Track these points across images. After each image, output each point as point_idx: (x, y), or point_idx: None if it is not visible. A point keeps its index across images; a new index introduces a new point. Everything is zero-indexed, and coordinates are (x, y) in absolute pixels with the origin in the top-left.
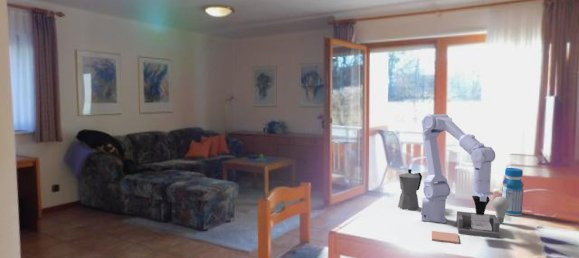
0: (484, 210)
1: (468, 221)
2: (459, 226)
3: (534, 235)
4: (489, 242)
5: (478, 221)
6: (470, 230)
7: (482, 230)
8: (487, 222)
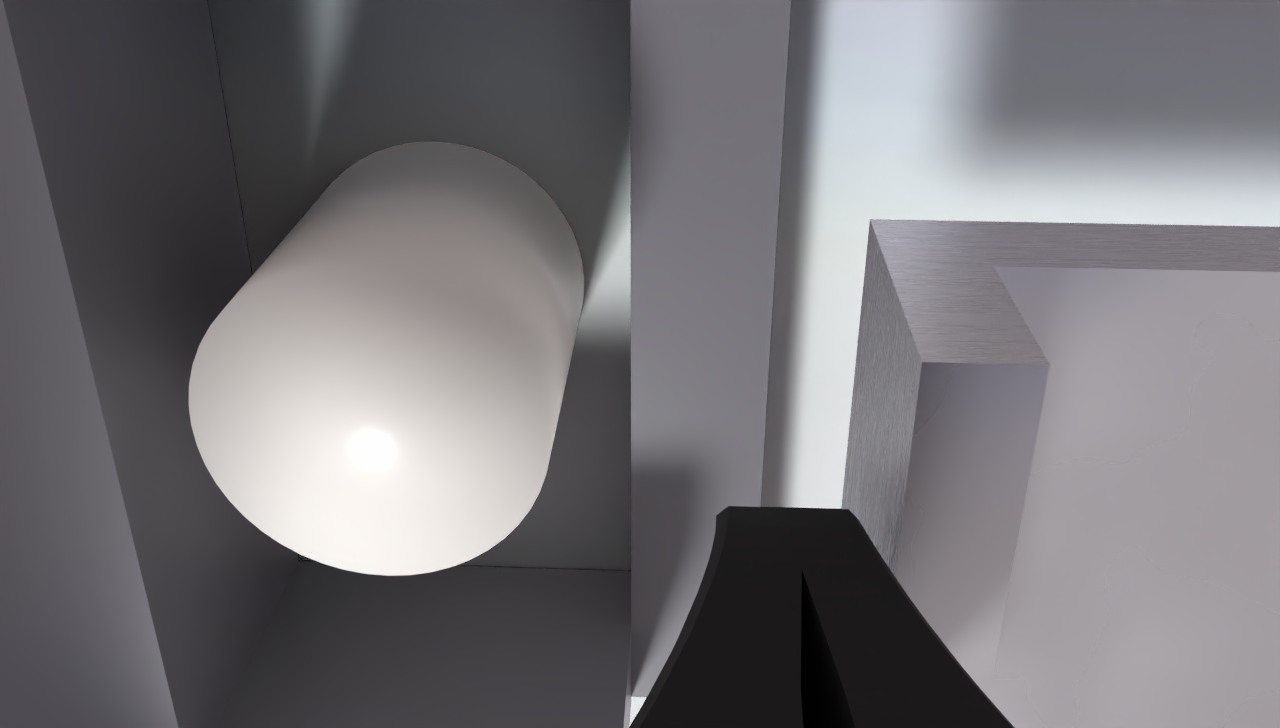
0: (953, 668)
1: (222, 534)
2: (628, 703)
3: None
4: (1220, 110)
5: (1079, 586)
6: (735, 497)
7: (527, 209)
8: (1150, 343)
